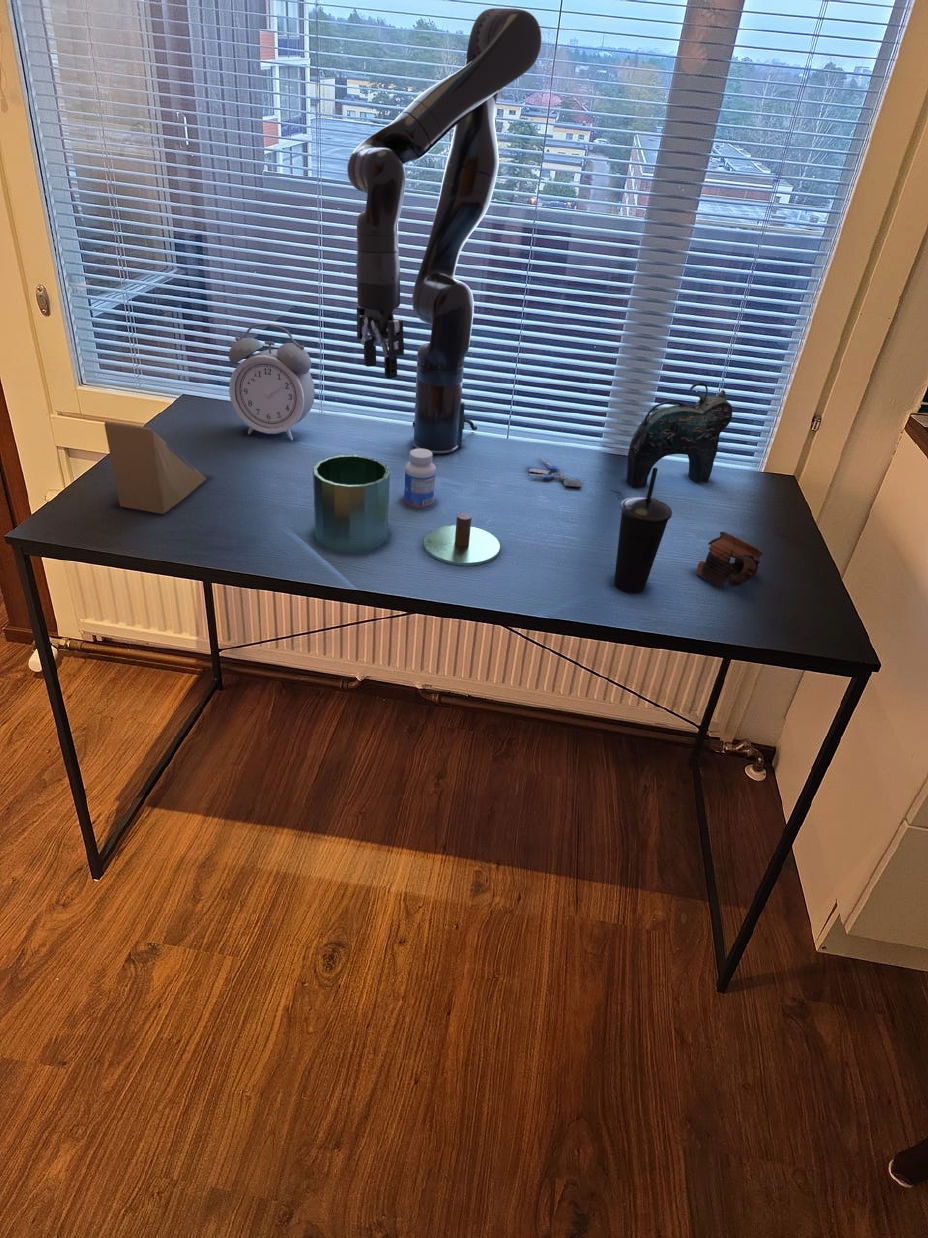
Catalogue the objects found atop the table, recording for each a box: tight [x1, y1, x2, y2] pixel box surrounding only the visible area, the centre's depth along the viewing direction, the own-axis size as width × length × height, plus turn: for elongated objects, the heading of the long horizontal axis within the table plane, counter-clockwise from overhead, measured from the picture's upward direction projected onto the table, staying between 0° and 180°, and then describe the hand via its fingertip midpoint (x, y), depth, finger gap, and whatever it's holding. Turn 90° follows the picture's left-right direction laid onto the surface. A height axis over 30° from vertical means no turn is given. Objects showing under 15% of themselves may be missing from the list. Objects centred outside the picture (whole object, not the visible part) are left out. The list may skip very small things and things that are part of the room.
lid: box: [423, 512, 501, 567], centre depth 134 cm, size 13×13×6 cm
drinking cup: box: [613, 467, 673, 594], centre depth 125 cm, size 8×8×20 cm
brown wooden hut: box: [695, 531, 764, 589], centre depth 133 cm, size 12×10×8 cm
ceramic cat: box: [626, 381, 734, 488], centre depth 159 cm, size 20×6×20 cm, turn 108°
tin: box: [312, 454, 391, 553], centre depth 133 cm, size 12×12×12 cm
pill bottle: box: [403, 448, 437, 508], centre depth 146 cm, size 6×5×10 cm
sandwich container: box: [103, 421, 208, 515], centre depth 140 cm, size 9×15×15 cm, turn 167°
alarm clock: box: [228, 323, 316, 441], centre depth 164 cm, size 16×9×22 cm, turn 81°
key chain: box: [528, 457, 582, 488], centre depth 162 cm, size 14×8×1 cm, turn 34°
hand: (380, 371), depth 152 cm, fingers open, 8 cm apart
